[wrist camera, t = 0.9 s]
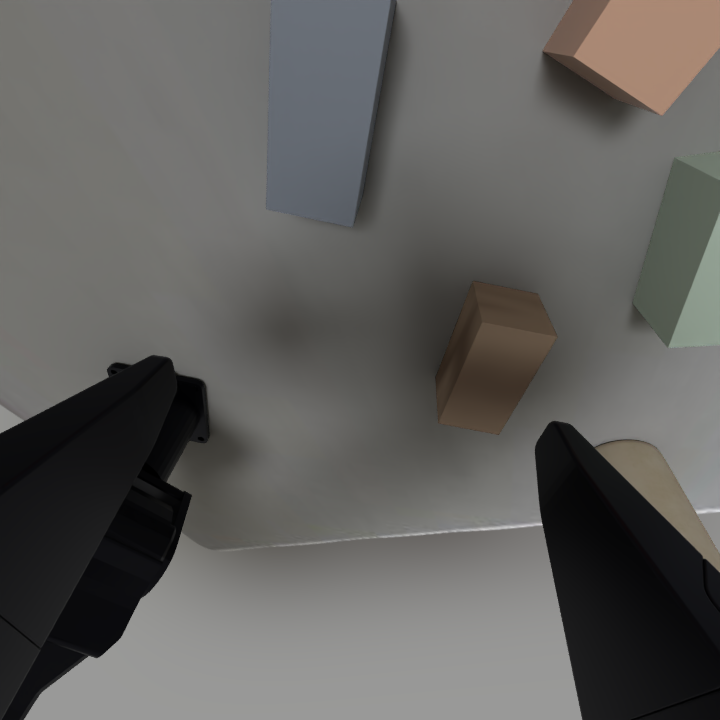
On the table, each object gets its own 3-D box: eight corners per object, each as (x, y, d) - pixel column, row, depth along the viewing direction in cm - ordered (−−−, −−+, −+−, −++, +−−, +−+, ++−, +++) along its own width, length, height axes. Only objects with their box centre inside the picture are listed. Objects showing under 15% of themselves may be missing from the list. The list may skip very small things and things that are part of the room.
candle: (627, 427, 27) (713, 589, 19) (679, 461, 28) (778, 624, 20) (558, 466, 30) (608, 618, 22) (608, 494, 31) (671, 646, 24)
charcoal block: (362, 195, 19) (352, 227, 16) (289, 179, 19) (266, 209, 16) (396, 1, 15) (392, -7, 12) (301, -21, 15) (271, -34, 12)
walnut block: (488, 386, 26) (499, 434, 23) (435, 376, 26) (438, 423, 23) (537, 292, 21) (557, 337, 18) (472, 279, 21) (482, 322, 18)
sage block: (707, 295, 21) (759, 342, 17) (631, 301, 21) (668, 348, 18) (770, 143, 16) (853, 170, 13) (672, 156, 17) (730, 185, 14)
